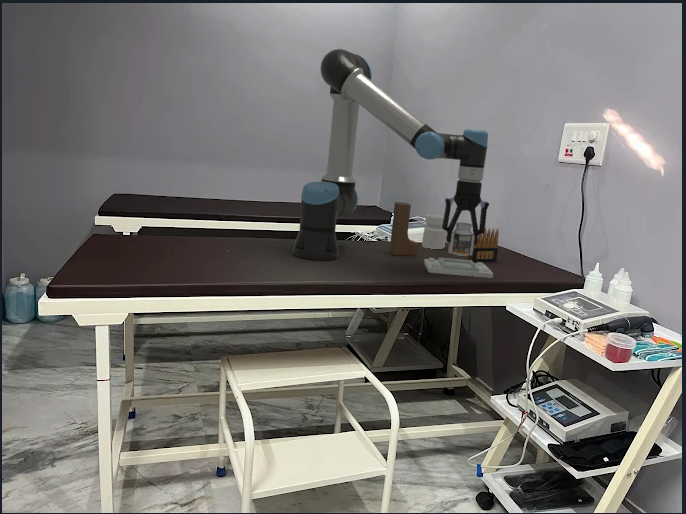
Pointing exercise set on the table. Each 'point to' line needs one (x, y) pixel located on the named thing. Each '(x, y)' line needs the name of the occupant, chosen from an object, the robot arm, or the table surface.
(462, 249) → the pill bottle
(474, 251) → the ammunition clip
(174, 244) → the table surface
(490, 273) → the base plate
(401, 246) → the wooden block
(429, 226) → the white lidded jar
